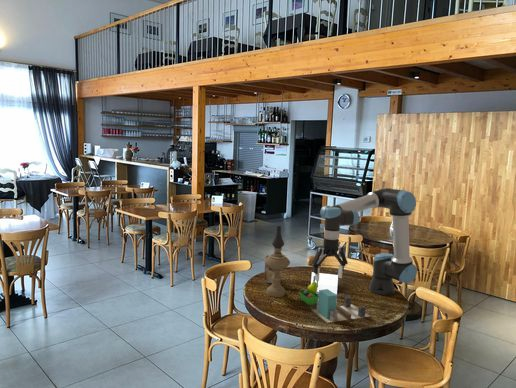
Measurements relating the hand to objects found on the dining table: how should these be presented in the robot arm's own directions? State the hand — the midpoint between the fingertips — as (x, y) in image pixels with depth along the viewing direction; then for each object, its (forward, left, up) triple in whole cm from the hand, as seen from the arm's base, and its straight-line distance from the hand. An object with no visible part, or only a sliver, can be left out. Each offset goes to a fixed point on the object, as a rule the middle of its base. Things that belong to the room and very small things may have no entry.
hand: (328, 278), depth 208 cm
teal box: (0, 0, -19) cm, 19 cm away
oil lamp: (+12, -36, -20) cm, 43 cm away
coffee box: (+6, -55, -20) cm, 59 cm away
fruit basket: (-1, -19, -20) cm, 28 cm away
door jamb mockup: (-9, 0, -20) cm, 22 cm away
